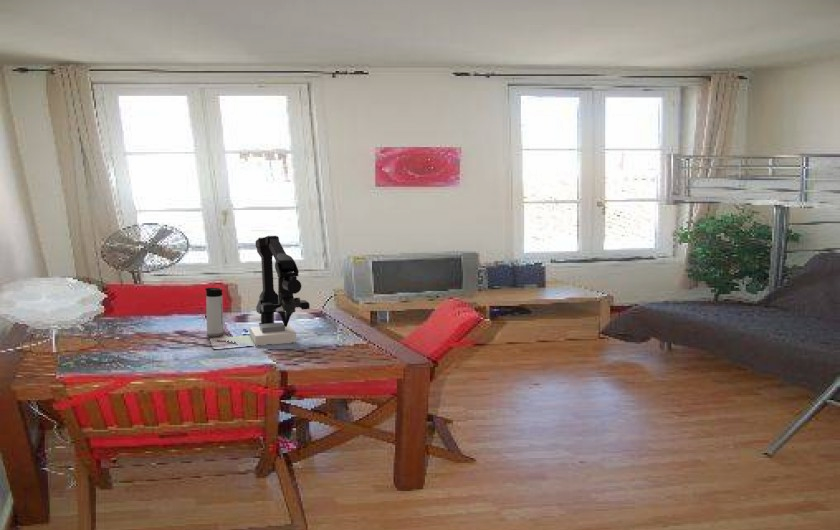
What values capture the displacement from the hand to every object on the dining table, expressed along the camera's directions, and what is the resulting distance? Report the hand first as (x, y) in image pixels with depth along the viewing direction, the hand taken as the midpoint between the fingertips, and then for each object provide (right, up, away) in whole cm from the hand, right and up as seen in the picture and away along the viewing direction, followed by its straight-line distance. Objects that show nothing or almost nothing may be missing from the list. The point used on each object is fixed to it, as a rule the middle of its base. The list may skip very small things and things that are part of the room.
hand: (285, 326), depth 217 cm
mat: (-19, -6, -9) cm, 22 cm away
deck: (-5, -5, -2) cm, 7 cm away
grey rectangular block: (-5, -1, -2) cm, 5 cm away
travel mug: (-30, -4, +2) cm, 30 cm away
